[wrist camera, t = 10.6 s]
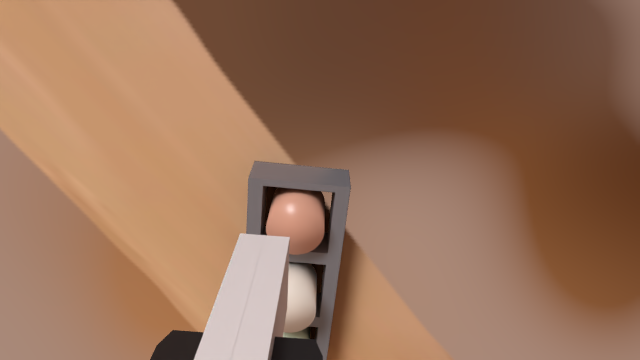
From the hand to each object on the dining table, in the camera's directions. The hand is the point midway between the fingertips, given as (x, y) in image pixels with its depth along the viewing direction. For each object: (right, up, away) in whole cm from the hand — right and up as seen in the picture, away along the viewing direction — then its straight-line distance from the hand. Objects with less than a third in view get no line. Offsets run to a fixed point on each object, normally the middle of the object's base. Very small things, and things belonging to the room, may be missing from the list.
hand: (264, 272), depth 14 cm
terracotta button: (0, +1, +21) cm, 21 cm away
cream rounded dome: (-1, -5, +22) cm, 23 cm away
